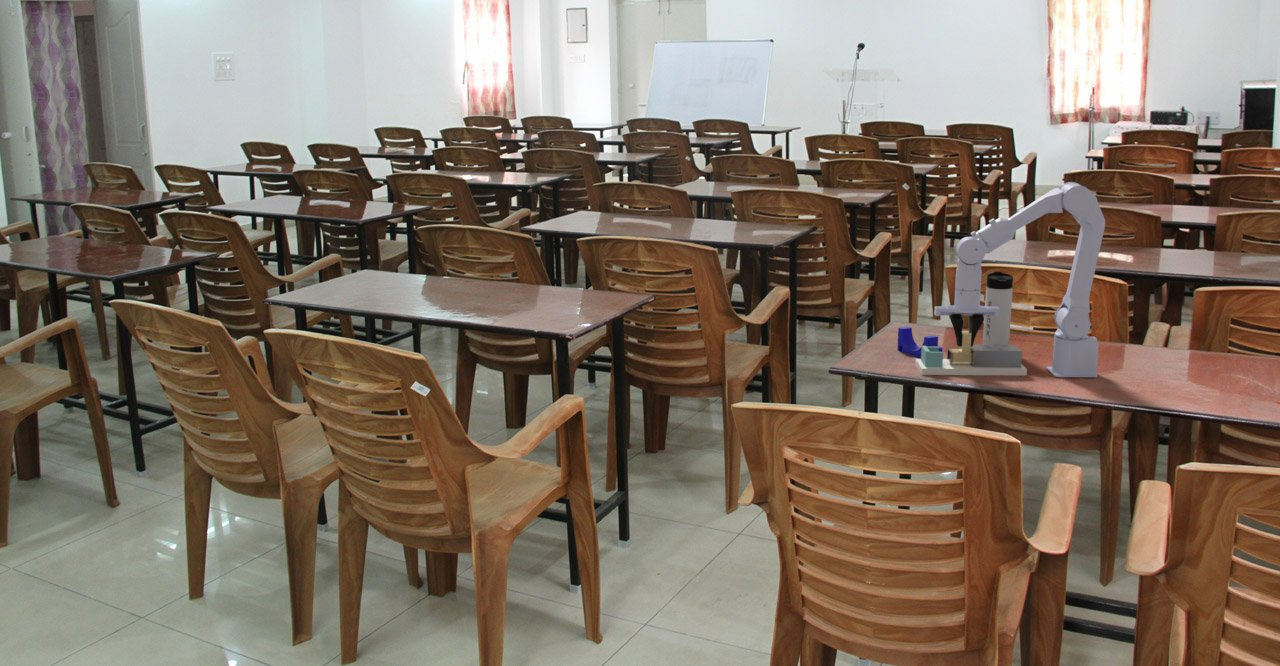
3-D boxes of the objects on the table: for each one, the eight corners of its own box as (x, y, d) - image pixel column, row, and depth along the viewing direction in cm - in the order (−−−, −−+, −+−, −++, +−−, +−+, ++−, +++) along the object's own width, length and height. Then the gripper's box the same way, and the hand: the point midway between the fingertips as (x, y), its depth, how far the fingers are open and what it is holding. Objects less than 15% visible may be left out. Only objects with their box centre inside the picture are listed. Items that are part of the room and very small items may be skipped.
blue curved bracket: (941, 359, 275) (943, 335, 274) (927, 361, 273) (928, 337, 272) (911, 348, 286) (912, 326, 284) (897, 350, 284) (898, 327, 283)
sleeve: (1014, 360, 266) (1015, 344, 265) (1020, 367, 260) (1022, 350, 260) (967, 360, 267) (968, 344, 266) (972, 367, 261) (973, 350, 260)
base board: (1016, 365, 268) (1017, 359, 268) (1026, 375, 259) (1027, 369, 259) (915, 364, 270) (915, 358, 269) (921, 374, 261) (922, 368, 261)
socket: (937, 360, 267) (938, 345, 267) (942, 366, 262) (943, 351, 261) (920, 360, 268) (921, 345, 267) (925, 366, 262) (925, 351, 261)
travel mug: (1005, 348, 284) (1010, 271, 279) (1010, 355, 277) (1016, 276, 273) (979, 348, 284) (984, 271, 280) (985, 355, 278) (989, 276, 273)
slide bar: (1011, 359, 265) (1013, 330, 263) (1015, 363, 261) (1017, 334, 260) (947, 358, 266) (948, 330, 265) (950, 362, 263) (951, 334, 261)
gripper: (995, 285, 263) (992, 341, 267) (933, 285, 264) (930, 341, 268) (1002, 291, 257) (999, 348, 260) (938, 291, 258) (935, 348, 261)
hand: (964, 345), depth 263 cm, fingers closed on slide bar, 2 cm apart
